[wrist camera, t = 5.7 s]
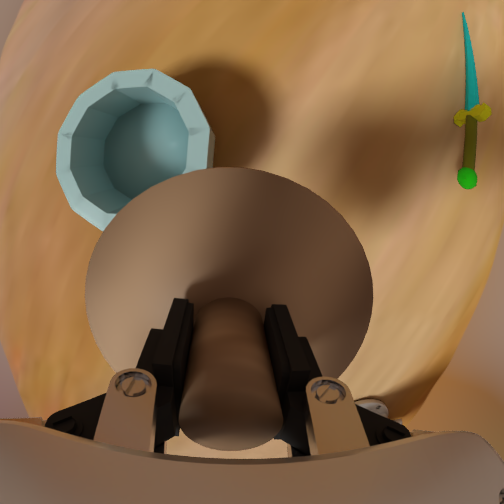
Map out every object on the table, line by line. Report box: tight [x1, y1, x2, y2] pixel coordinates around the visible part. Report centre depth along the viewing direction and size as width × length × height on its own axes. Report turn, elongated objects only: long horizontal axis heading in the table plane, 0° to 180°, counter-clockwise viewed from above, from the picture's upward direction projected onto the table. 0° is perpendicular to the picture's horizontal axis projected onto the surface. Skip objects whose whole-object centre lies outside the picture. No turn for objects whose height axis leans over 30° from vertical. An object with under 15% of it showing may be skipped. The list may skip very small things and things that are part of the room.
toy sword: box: [453, 12, 492, 189], centre depth 24 cm, size 3×6×30 cm
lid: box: [85, 167, 373, 451], centre depth 10 cm, size 12×12×6 cm
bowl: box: [56, 69, 215, 231], centre depth 23 cm, size 13×13×8 cm
